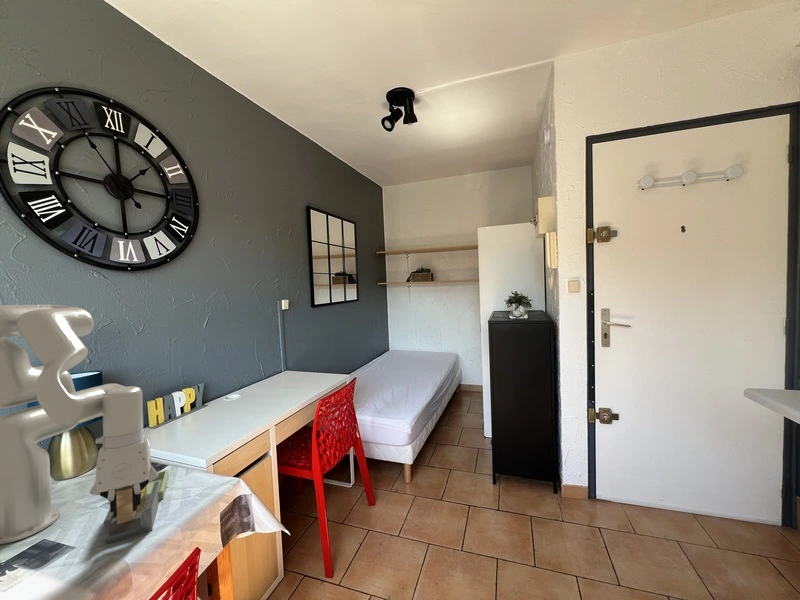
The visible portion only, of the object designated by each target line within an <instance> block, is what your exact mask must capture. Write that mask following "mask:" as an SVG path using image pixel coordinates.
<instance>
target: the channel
mask: <svg viewBox="0 0 800 600" xmlns="http://www.w3.org/2000/svg"><path fill="white" fill-rule="evenodd" d="M160 502H161V500H160V490H159V481H158V482H154V485H153V488H152V491H151V493H150V494H147V499H146V502H145V505H144V508H143V522H142V526H141V527H139V528H136V529H133V530H129V531H126V532H123V533H120V534H116V535H113V536H109V526H110V523H111V521H112V519H114V518H117V516H115V517H113V512H110V509H108V512H107V513H106V514H107V515H106V516H105V518H104V520H103V533H104V536H103V537H104V545H109V544H112V543H115V542H118V541H122V540H124V539H127V538H132V537H134V536H138V535H141V534H145V533H147V532H150V531H153V529H154V524H155V522H156V521H155V520H156V517H157V513H158V510H159V506H160V505H159V504H160Z"/></svg>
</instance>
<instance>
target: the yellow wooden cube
mask: <svg viewBox="0 0 800 600" xmlns="http://www.w3.org/2000/svg"><path fill="white" fill-rule="evenodd" d="M143 508H144V492H143V493H141V504H140V505H138V507H137V510H136V512H138V511H142V510H143Z"/></svg>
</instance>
